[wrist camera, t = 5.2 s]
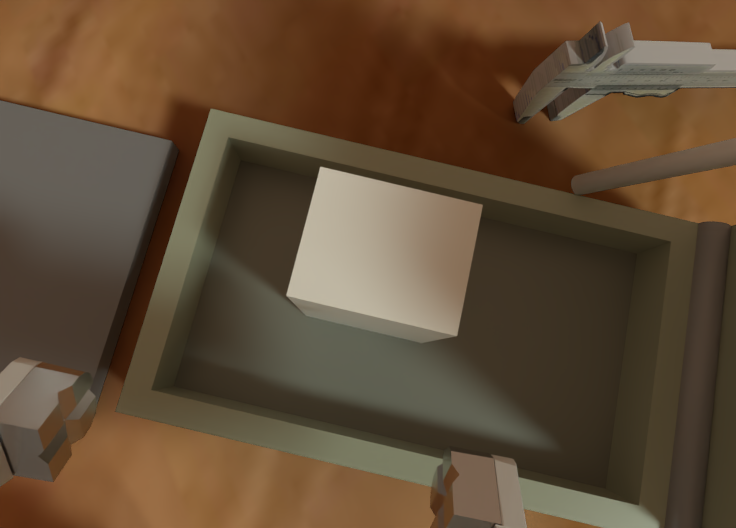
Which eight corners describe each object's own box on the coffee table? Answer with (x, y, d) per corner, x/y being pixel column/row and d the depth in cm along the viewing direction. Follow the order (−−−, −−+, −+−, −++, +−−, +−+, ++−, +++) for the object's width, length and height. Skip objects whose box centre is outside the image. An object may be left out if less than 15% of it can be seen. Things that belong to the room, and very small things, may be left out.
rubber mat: (93, 417, 21) (80, 420, 20) (-144, 361, 21) (-168, 361, 20) (179, 149, 23) (171, 140, 22) (-35, 99, 23) (-52, 88, 22)
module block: (421, 343, 21) (457, 336, 14) (305, 315, 21) (286, 295, 14) (441, 249, 22) (483, 199, 15) (329, 222, 22) (321, 161, 15)
